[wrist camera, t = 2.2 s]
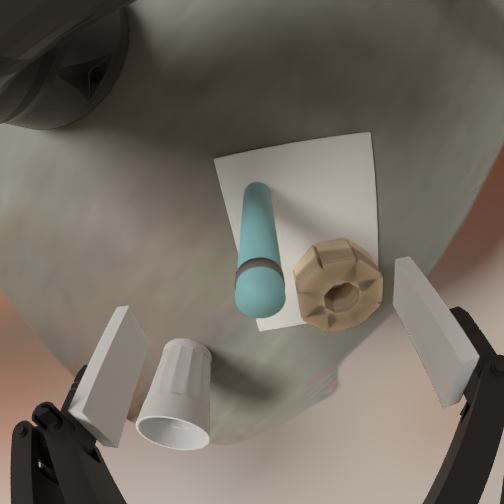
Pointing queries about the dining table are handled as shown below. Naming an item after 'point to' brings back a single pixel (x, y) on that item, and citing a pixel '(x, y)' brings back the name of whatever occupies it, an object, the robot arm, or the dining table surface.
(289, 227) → the mat
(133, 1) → the robot arm
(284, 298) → the teal marker pen
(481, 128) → the dining table surface
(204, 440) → the cup
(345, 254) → the bead
